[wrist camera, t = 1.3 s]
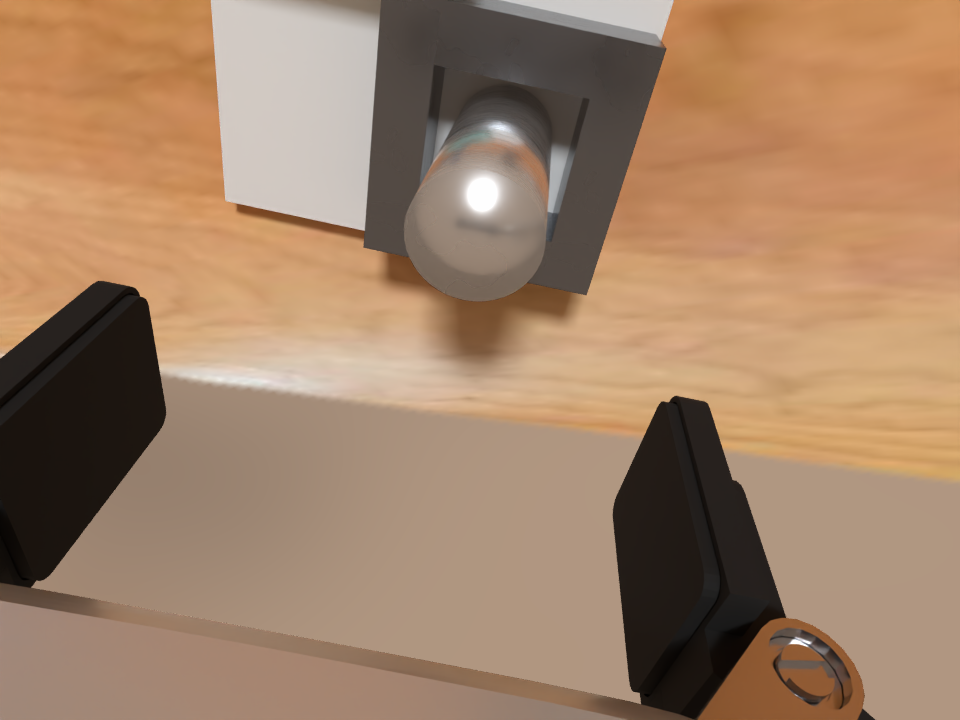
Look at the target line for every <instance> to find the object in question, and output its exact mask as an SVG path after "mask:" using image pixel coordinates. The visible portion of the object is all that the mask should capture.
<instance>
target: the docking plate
mask: <svg viewBox="0 0 960 720" xmlns="http://www.w3.org/2000/svg"><path fill="white" fill-rule="evenodd" d="M502 1H506V2H511V3H515V4H520V5H525V6H529V7H534V8H538V9H543V10H547V11H552V12H557V13H561V14H566V15H570V16H575V17H579V18H584V19H589V20H593V21H598V22H602V23H607V24H611V25H616V26H621V27H625V28H630V29H634V30H639V31H643V32H648V33H652V34H656V35H657V36H658V38H659V39H660V40H661V39H662V36H663V33H664V30H665V26H666V23H667V20H668V17H669V14H670V11H671V8H672V4H673V1H674V0H502ZM380 7H381V0H211V8H212V21H213V35H214V49H215V63H216V76H217V90H218V104H219V118H220V131H221V145H222V159H223V173H224V187H225V200H226V201H228V202H233V203H237V204H242V205H247V206H251V207H256V208H261V209H265V210H270V211H275V212H279V213H284V214H289V215H293V216H298V217H303V218H307V219H312V220H317V221H321V222H326V223H331V224H335V225H340V226H345V227H349V228H354V229H359V230H363V231H365V219H366V205H367V191H368V177H369V163H370V149H371V134H372V120H373V106H374V92H375V78H376V63H377V49H378V35H379V21H380ZM494 85H514V86H517V87H520V88H523V89H525V90H527V91H528V92H530V93H532V94H533V95H534V96H535V97H536V98H537V99H538V100H539V101H540V102H541V103H542V104H543V106H544V107H545V109H546V111H547V113H548V115H549V117H550V120H551V125H552V132H553V137H552V153H551V168H550V183H549V198H548V212H551V213H553V210H554V206H555V202H556V199H557V195H558V191H559V187H560V183H561V179H562V176H563V172H564V168H565V164H566V160H567V157H568V153H569V149H570V145H571V141H572V137H573V134H574V130H575V126H576V122H577V118H578V115H579V111H580V107H581V103H582V99H583V97H579V96H574V95H570V94H565V93H560V92H556V91H551V90H547V89H542V88H537V87H533V86H528V85H524V84H519V83H514V82H510V81H505V80H501V79H496V78H491V77H487V76H482V75H478V74H473V73H468V72H464V71H459V70H455V69H450V68H445V74H444V81H443V89H442V96H441V104H440V111H439V119H438V127H437V134H436V142H435V149H434V157H433V161H434V160H435V158H436V156H437V154H438V152H439V150H440V148H441V147H442V145H443V143H444V141H445V139H446V137H447V136H448V134H449V132H450V130H451V128H452V126H453V125H454V123H455V121H456V119H457V117H458V115H459V113H460V112H461V110H462V108H463V106H464V105H465V104H466V102H467V101H468V100H469V99H470V98H471V97H472V96H473V95H474V94H476V93H477V92H479V91H480V90H482V89H485V88H487V87H490V86H494Z"/></svg>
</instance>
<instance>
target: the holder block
mask: <svg viewBox="0 0 960 720" xmlns="http://www.w3.org/2000/svg"><path fill="white" fill-rule="evenodd" d="M665 52H666V47H665V46H664V44H663V43H662V42H661V40H660V39H659V38H658V36H657V35H656V34H652V33H648V32H643V31H639V30H634V29H630V28H625V27H621V26H616V25H611V24H607V23H602V22H598V21H593V20H589V19H584V18H579V17H575V16H570V15H566V14H561V13H557V12H552V11H547V10H543V9H538V8H534V7H529V6H525V5H520V4H515V3H511V2H506V1H502V0H381V7H380V21H379V35H378V49H377V63H376V78H375V92H374V106H373V120H372V134H371V149H370V163H369V177H368V191H367V205H366V219H365V234H364V248H368V249H373V250H377V251H382V252H387V253H391V254H396V255H401V256H405V257H409V255H408V252H407V249H406V245H405V240H404V223H405V217H406V214H407V211H408V208H409V206H410V204H411V202H412V200H413V198H414V196H415V195H416V193H417V191H418V189H419V187H420V185H421V183H422V182H423V180H424V178H425V176H426V174H427V172H428V171H429V169H430V167H431V165H432V163H433V157H434V149H435V142H436V134H437V127H438V119H439V111H440V104H441V96H442V89H443V81H444V74H445V68H450V69H455V70H459V71H464V72H468V73H473V74H478V75H482V76H487V77H491V78H496V79H501V80H505V81H510V82H514V83H519V84H524V85H528V86H533V87H537V88H542V89H547V90H551V91H556V92H560V93H565V94H570V95H574V96H579V97H583V99H582V103H581V107H580V111H579V115H578V118H577V122H576V126H575V130H574V134H573V137H572V141H571V145H570V149H569V153H568V157H567V160H566V164H565V168H564V172H563V176H562V179H561V183H560V187H559V191H558V195H557V199H556V202H555V206H554V210H553V213H551V212H548V213H547V228H546V243H545V250H544V255H543V258H542V261H541V263H540V265H539V267H538V269H537V271H536V272H535V274H534V275H533V277H532V278H531V279H530V280H529V281H528V282H527V283H532V284H536V285H541V286H546V287H550V288H555V289H560V290H564V291H569V292H574V293H578V294H583V295H587V292H588V289H589V286H590V283H591V280H592V277H593V274H594V271H595V267H596V264H597V261H598V258H599V255H600V252H601V249H602V246H603V243H604V240H605V237H606V234H607V230H608V227H609V224H610V221H611V218H612V215H613V212H614V209H615V206H616V203H617V200H618V197H619V193H620V190H621V187H622V184H623V181H624V178H625V175H626V172H627V169H628V166H629V163H630V159H631V156H632V153H633V150H634V147H635V144H636V141H637V138H638V135H639V132H640V129H641V126H642V122H643V119H644V116H645V113H646V110H647V107H648V104H649V101H650V98H651V95H652V92H653V89H654V85H655V82H656V79H657V76H658V73H659V70H660V67H661V64H662V61H663V58H664V55H665Z"/></svg>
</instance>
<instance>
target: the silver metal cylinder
mask: <svg viewBox="0 0 960 720" xmlns="http://www.w3.org/2000/svg"><path fill="white" fill-rule="evenodd" d="M552 137H553V132H552V125H551V120H550V117H549V115H548V113H547V111H546V109H545V107H544V106H543V104H542V103H541V102H540V101H539V100H538V99H537V98H536V97H535V96H534V95H533V94H532V93H530V92H528V91H527V90H525V89H523V88H520V87H517V86H514V85H494V86H490V87H487V88H485V89H482V90H480V91H479V92H477V93H476V94H474V95H473V96H472V97H471V98H470V99H469V100H468V101H467V102H466V104H465V105H464V106H463V108H462V110H461V112H460V113H459V115H458V117H457V119H456V121H455V123H454V125H453V126H452V128H451V130H450V132H449V134H448V136H447V137H446V139H445V141H444V143H443V145H442V147H441V148H440V150H439V152H438V154H437V156H436V158H435V160H434V161H433V163H432V165H431V167H430V169H429V171H428V172H427V174H426V176H425V178H424V180H423V182H422V183H421V185H420V187H419V189H418V191H417V193H416V195H415V196H414V198H413V200H412V202H411V204H410V206H409V208H408V211H407V214H406V217H405V223H404V240H405V245H406V249H407V252H408V255H409V258H410V260H411V261H412V263H413V265H414V267H415V268H416V270H417V271H418V272H419V274H420V275H421V276H422V277H423V278H424V279H425V280H426V281H427V282H428V283H429V284H430V285H432V286H433V287H435V288H436V289H437V290H439V291H441V292H443V293H445V294H447V295H449V296H452V297H454V298H458V299H461V300H467V301H479V302H481V301H491V300H496V299H499V298H503V297H506V296H508V295H510V294H512V293H514V292H515V291H517V290H519V289H520V288H521V287H523V286H524V285H525V284H526V283H527V282H528V281H529V280H530V279H531V278H532V277H533V275H534V274H535V272H536V271H537V269H538V267H539V265H540V263H541V261H542V258H543V255H544V250H545V243H546V228H547V213H548V198H549V183H550V168H551V153H552Z"/></svg>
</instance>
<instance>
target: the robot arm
mask: <svg viewBox="0 0 960 720" xmlns="http://www.w3.org/2000/svg"><path fill="white" fill-rule="evenodd" d="M165 416H166V406H165V401H164V395H163V389H162V383H161V377H160V371H159V365H158V359H157V353H156V347H155V341H154V335H153V329H152V323H151V317H150V311H149V305H148V302H147V300H146V299H145V298H143V297H140V295H139V292H138V291H137V289H135V288H133V287H130V286H125V285H120V284H115V283H110V282H105V281H97V282H95V283H94V284H92V285H91V286H90V287H88V288H87V289H86V290H85V291H84V292H82V293H81V294H80V295H79V296H77V297H76V298H75V299H74V300H72V301H71V302H70V303H69V304H67V305H66V306H65V307H64V308H62V309H61V310H60V311H59V312H58V313H56V314H55V315H54V316H53V317H51V318H50V319H49V320H48V321H46V322H45V323H44V324H43V325H41V326H40V327H39V328H38V329H36V330H35V331H34V332H33V333H32V334H30V335H29V336H28V337H27V338H25V339H24V340H23V341H22V342H20V343H19V344H18V345H17V346H15V347H14V348H13V349H12V350H10V351H9V352H8V353H7V354H6V355H4V356H3V357H2V358H1V359H0V720H875V719H874V718H873V717H871V716H870V715H869V714H868V713H867V712H866V711H865V710H863V709H862V707H863V702H864V696H865V695H864V689H863V684H862V680H861V678H860V675H859V673H858V671H857V670H856V667H855V665H854V663H853V662H852V661H851V659H850V658H849V657H848V656H847V654H846V653H845V651H844V650H843V649H842V648H841V647H840V646H839V645H838V644H837V643H836V642H835V641H834V640H832V639H831V638H830V637H829V636H828V635H827V634H825V633H823V632H822V631H820V630H819V629H817V628H816V627H814V626H813V625H810V624H807V623H805V622H802V621H800V620H797V619H789V618H786V616H785V613H784V610H783V607H782V603H781V600H780V598H779V594H778V591H777V588H776V586H775V583H774V579H773V576H772V573H771V570H770V567H769V564H768V561H767V558H766V555H765V552H764V549H763V546H762V543H761V540H760V537H759V534H758V531H757V528H756V525H755V522H754V519H753V516H752V513H751V510H750V507H749V504H748V501H747V498H746V495H745V492H744V490H743V488H742V486H741V485H740V484H739V483H738V482H737V481H734V480H732V477H731V474H730V471H729V467H728V464H727V462H726V458H725V455H724V452H723V449H722V445H721V442H720V439H719V436H718V433H717V430H716V426H715V423H714V420H713V417H712V414H711V411H710V408H709V405H708V403H706V402H704V401H699V400H694V399H689V398H684V397H679V396H674V397H673V398H672V399H671V400H670V402H664V401H663V402H661V403H660V404H659V406H658V407H657V410H656V412H655V414H654V416H653V418H652V420H651V423H650V425H649V427H648V429H647V431H646V433H645V436H644V438H643V440H642V442H641V444H640V446H639V449H638V451H637V453H636V455H635V457H634V459H633V462H632V464H631V466H630V468H629V470H628V473H627V475H626V477H625V479H624V481H623V483H622V485H621V488H620V490H619V492H618V494H617V496H616V499H615V503H614V508H613V522H614V533H615V543H616V553H617V562H618V573H619V583H620V592H621V603H622V612H623V623H624V633H625V643H626V653H627V663H628V672H629V682H630V687H631V689H632V691H633V692H638V693H640V698H641V704H637V703H633V702H630V701H625V700H620V699H615V698H611V697H606V696H601V695H596V694H592V693H587V692H582V691H577V690H573V689H568V688H563V687H558V686H553V685H549V684H544V683H539V682H534V681H529V680H524V679H519V678H513V677H508V676H503V675H498V674H493V673H487V672H482V671H477V670H472V669H466V668H461V667H456V666H451V665H446V664H440V663H435V662H430V661H425V660H420V659H414V658H409V657H404V656H399V655H393V654H388V653H382V652H377V651H372V650H367V649H362V648H356V647H351V646H346V645H340V644H334V643H330V642H324V641H318V640H314V639H308V638H303V637H298V636H292V635H286V634H281V633H276V632H271V631H265V630H259V629H255V628H249V627H244V626H238V625H233V624H227V623H222V622H217V621H211V620H206V619H200V618H195V617H190V616H184V615H178V614H173V613H168V612H162V611H157V610H150V609H145V608H140V607H134V606H129V605H123V604H117V603H112V602H107V601H101V600H95V599H90V598H85V597H79V596H74V595H68V594H63V593H57V592H51V591H46V590H40V589H34V588H31V587H32V586H33V584H34V583H35V582H36V580H38V581H41V580H44V579H45V578H47V577H48V576H49V575H50V574H51V573H52V572H53V570H54V569H55V568H56V566H57V565H58V564H59V563H60V561H61V560H62V559H63V557H64V556H65V555H66V553H67V552H68V551H69V549H70V548H71V547H72V545H73V544H74V543H75V542H76V540H77V539H78V538H79V536H80V535H81V533H82V532H83V531H84V529H85V528H86V527H87V526H88V524H89V523H90V522H91V520H92V519H93V517H94V516H95V515H96V513H98V511H99V510H100V508H101V507H102V506H103V505H104V503H105V502H106V500H107V499H108V498H109V496H110V495H111V494H112V493H113V491H114V490H115V489H116V487H117V486H118V485H119V483H120V482H121V481H122V479H123V478H124V477H125V476H126V474H127V473H128V471H129V470H130V469H131V468H132V466H133V465H134V464H135V462H136V461H137V460H138V458H139V457H140V456H141V455H142V453H143V452H144V450H145V449H146V448H147V447H148V445H149V444H150V443H151V441H152V440H153V439H154V437H155V436H156V435H157V433H158V432H159V431H160V429H161V428H162V426H163V424H164V421H165Z"/></svg>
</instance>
